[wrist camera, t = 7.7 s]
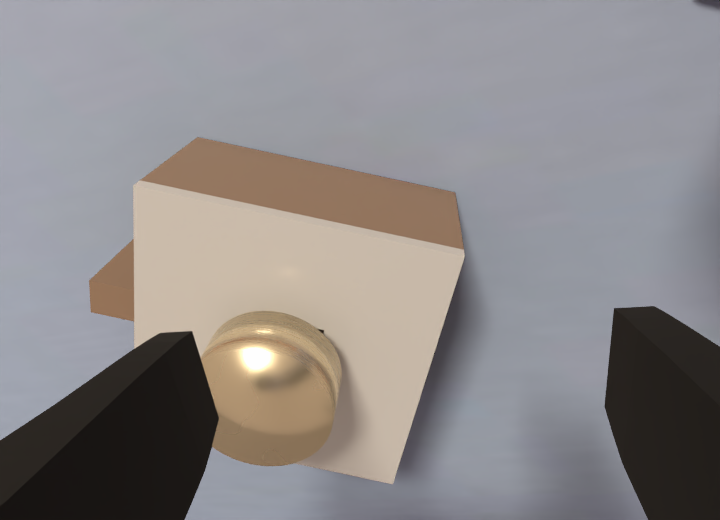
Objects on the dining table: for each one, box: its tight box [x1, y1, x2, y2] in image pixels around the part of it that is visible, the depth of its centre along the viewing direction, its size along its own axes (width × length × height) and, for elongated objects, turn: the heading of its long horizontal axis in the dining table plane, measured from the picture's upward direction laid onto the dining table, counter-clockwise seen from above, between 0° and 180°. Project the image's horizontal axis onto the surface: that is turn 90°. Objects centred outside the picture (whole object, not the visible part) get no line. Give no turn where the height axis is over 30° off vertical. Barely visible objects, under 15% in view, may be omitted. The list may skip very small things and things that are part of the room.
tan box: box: [89, 137, 465, 484], centre depth 19 cm, size 11×9×5 cm
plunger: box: [201, 311, 342, 466], centre depth 17 cm, size 4×4×6 cm
